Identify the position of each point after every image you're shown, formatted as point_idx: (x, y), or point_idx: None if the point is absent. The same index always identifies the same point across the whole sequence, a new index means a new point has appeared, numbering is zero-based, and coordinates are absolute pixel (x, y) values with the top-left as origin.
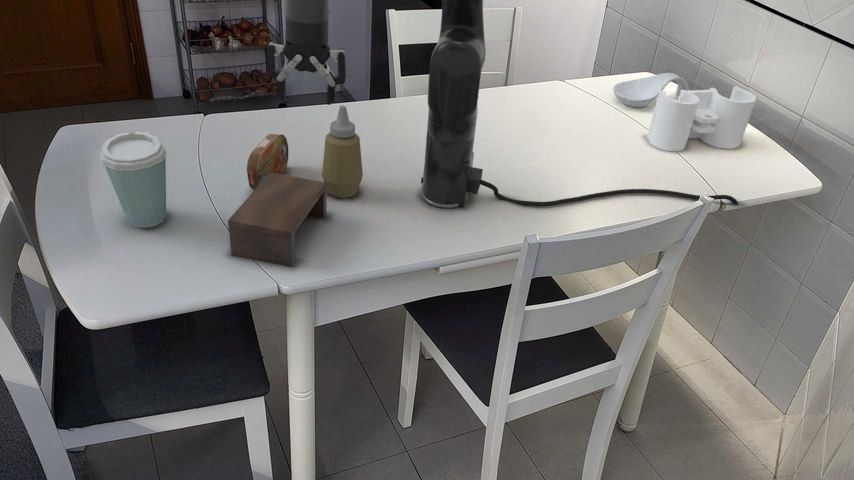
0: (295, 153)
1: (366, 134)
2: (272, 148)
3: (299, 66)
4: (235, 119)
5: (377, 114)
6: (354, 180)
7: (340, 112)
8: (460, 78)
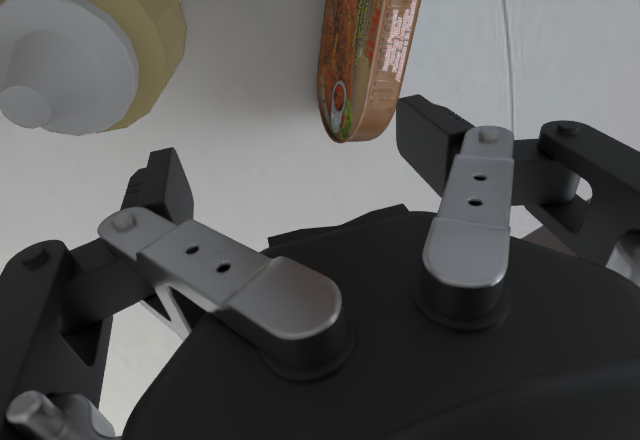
0: (315, 177)
1: None
2: (367, 51)
3: (406, 227)
4: None
5: None
6: None
7: (37, 72)
8: None
